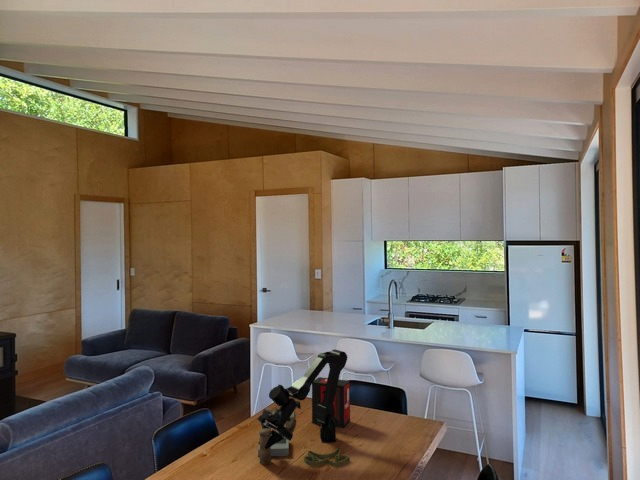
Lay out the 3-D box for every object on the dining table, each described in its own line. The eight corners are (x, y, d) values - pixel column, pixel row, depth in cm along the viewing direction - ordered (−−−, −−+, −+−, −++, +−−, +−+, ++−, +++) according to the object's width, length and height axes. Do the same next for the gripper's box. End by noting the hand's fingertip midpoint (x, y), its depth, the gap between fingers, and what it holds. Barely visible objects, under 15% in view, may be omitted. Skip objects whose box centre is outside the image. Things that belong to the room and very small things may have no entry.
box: (288, 442, 196) (288, 435, 196) (288, 455, 183) (288, 448, 183) (260, 443, 195) (260, 436, 195) (258, 456, 182) (258, 449, 182)
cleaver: (295, 432, 207) (295, 427, 207) (274, 433, 206) (274, 428, 206) (294, 410, 236) (294, 406, 236) (275, 410, 236) (275, 406, 236)
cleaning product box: (350, 421, 219) (349, 380, 219) (344, 428, 211) (343, 385, 211) (319, 416, 225) (318, 377, 225) (312, 423, 217) (311, 382, 217)
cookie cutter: (344, 452, 187) (344, 447, 187) (351, 466, 175) (351, 460, 175) (302, 455, 184) (302, 451, 184) (306, 470, 172) (306, 465, 172)
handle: (271, 459, 180) (271, 428, 181) (270, 464, 176) (270, 432, 176) (259, 459, 180) (259, 428, 180) (259, 465, 175) (259, 433, 176)
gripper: (261, 395, 188) (238, 428, 181) (286, 407, 173) (262, 444, 166) (277, 409, 193) (254, 442, 186) (302, 422, 178) (279, 458, 171)
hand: (262, 446), depth 177 cm, fingers closed on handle, 4 cm apart
